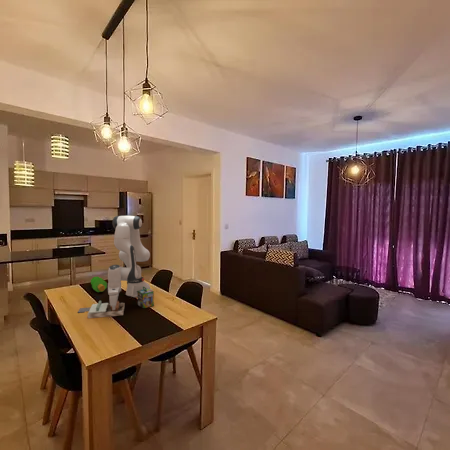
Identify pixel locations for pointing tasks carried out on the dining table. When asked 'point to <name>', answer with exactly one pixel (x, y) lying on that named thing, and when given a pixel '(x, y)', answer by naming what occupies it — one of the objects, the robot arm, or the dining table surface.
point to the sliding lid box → (108, 312)
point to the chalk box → (145, 298)
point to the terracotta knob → (116, 307)
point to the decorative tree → (98, 284)
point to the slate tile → (83, 310)
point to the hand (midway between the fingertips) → (114, 307)
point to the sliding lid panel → (98, 307)
